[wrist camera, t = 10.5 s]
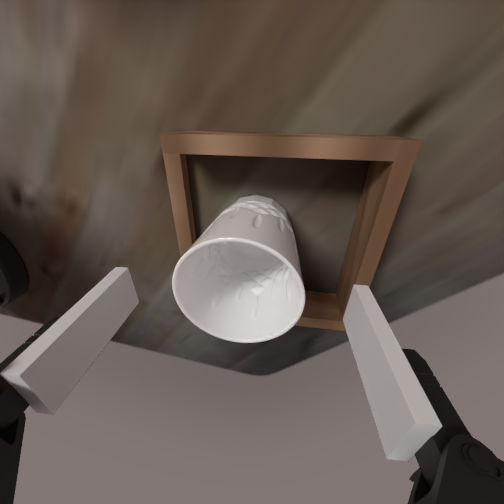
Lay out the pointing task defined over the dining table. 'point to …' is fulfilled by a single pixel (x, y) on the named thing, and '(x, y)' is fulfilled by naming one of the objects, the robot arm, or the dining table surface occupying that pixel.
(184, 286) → the white cup
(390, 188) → the bay
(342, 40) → the dining table surface
